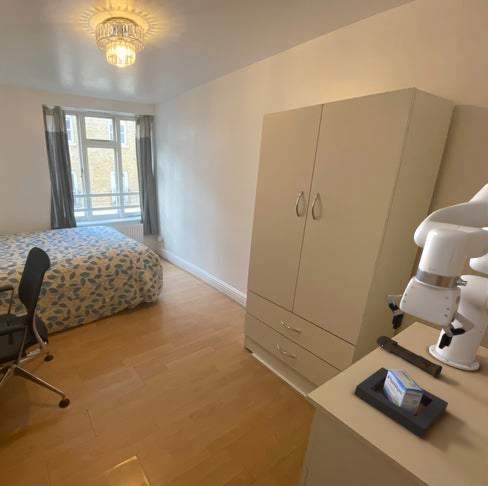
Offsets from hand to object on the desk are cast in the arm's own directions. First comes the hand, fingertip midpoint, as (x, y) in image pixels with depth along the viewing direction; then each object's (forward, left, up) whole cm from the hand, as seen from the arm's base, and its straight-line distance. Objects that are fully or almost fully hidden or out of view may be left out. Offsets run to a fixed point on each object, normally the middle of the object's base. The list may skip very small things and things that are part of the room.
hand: (418, 336), depth 73 cm
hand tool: (-25, -8, -23) cm, 35 cm away
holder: (-1, 0, -23) cm, 23 cm away
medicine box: (-1, 0, -23) cm, 23 cm away
